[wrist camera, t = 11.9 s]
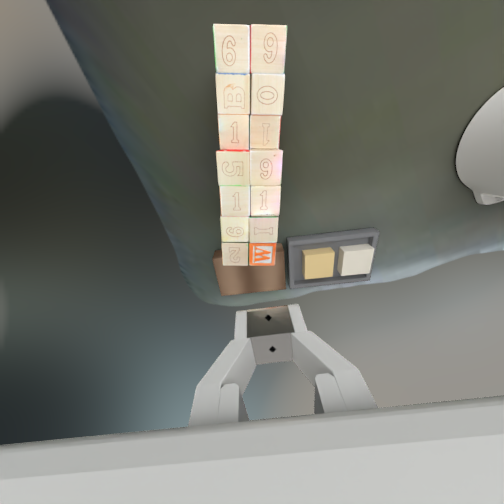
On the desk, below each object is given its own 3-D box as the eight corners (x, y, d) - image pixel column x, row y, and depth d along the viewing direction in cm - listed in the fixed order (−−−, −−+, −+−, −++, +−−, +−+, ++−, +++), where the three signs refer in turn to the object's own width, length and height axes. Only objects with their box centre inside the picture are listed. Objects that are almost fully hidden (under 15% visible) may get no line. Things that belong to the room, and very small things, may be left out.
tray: (373, 227, 34) (379, 231, 33) (364, 274, 39) (369, 280, 37) (286, 237, 35) (288, 241, 33) (288, 282, 40) (290, 288, 38)
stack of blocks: (224, 63, 24) (205, -6, 13) (276, 64, 24) (299, -2, 13) (230, 228, 34) (221, 267, 23) (266, 229, 34) (275, 267, 23)
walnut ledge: (281, 243, 35) (283, 251, 33) (283, 279, 39) (285, 289, 36) (215, 250, 36) (212, 259, 33) (223, 285, 40) (221, 295, 37)
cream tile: (344, 251, 33) (339, 246, 35) (341, 276, 36) (337, 269, 38) (374, 248, 33) (368, 243, 35) (369, 273, 36) (363, 267, 37)
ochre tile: (330, 247, 35) (334, 252, 33) (328, 270, 38) (332, 276, 36) (302, 250, 35) (305, 255, 34) (302, 273, 38) (304, 279, 36)
